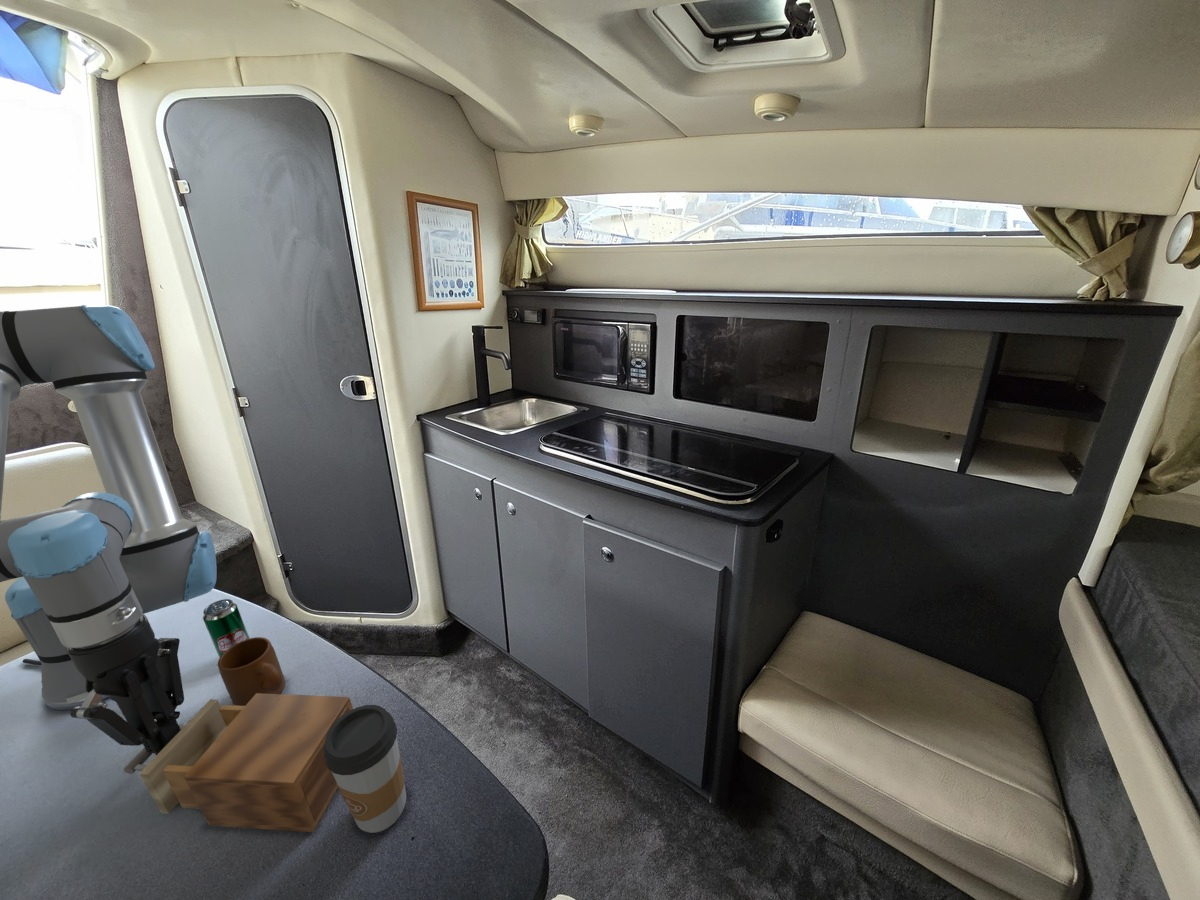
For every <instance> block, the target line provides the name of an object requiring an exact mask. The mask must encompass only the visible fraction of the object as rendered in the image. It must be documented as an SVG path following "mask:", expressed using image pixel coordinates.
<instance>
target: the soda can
mask: <svg viewBox="0 0 1200 900" xmlns="http://www.w3.org/2000/svg"><path fill="white" fill-rule="evenodd" d="M202 613H203V615H202V621H203V623H204V625H205V627H206V629H207V633H208V634H209V637H210V639H211V641H212V644H213V647H214V649H215V651H216V653H217V656H218V659H219V658H220V657H221V655H222V654H223V653H224V652H225V651H226V650H228V649H229V648H230V647H232V646H233V645H235V644H237V643H239V642H241V641H244V640H246V639H250V636H249V633H248V631H247V628H246V626H245V623H244V620H243V618H242V614H241V613H240V610H239V607H238V605H237V604H236V603H235V602H233V600H232V599H229V598H224V599H223V598H222V599H219V600H217V601H214V602H212V603H210V604H209V605H207V606H206V607H205V608H204V609H203V612H202Z"/></svg>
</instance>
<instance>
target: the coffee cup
mask: <svg viewBox="0 0 1200 900" xmlns="http://www.w3.org/2000/svg"><path fill="white" fill-rule="evenodd" d="M324 758H325V764H326V766H327V767H328V769H329V770H330V771H331V772H332V774H333V776H334V778H335V780H336V782H337V786H338V791H339V792H340V795H341V797H342V798H343V800H344V803H345V805H346V807H347V810H349V813H350V815H351V816H352V817H353V819H354V822H355V823H356V826H357V828H359V829H360V830H361V831H363V832H366V833H370V834H373V833H376V834H377V833H380V832H383V831H385V830H387V829H388V828H390V827H391V826H392V825H394V824H395V823H396V822H397V821H398V819H399V818H400V816H401V815H402V813H403V812H404V809H405V806H406V804H407V791H406V785H405V775H404V769H403V768H404V767H403V762H402V756H401V751H400V747H399V743H398V727H397V723H396V722H395V720H394V717H393V716H392V714H391V713H390V712H389V711H388V710H386V709H385V708H384V707H382V706H381V705H376V704H364V705H360V706H357V707H355V708H353V710H350V711H349V712H347V713H345V714H344V715H342V716H341V717H340V718H339V719H338V720H337V721H336V722H335V723H334V724H333V725H332V726H331V728H330V730H329V731H328V733H327V736H326V739H325V745H324Z"/></svg>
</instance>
